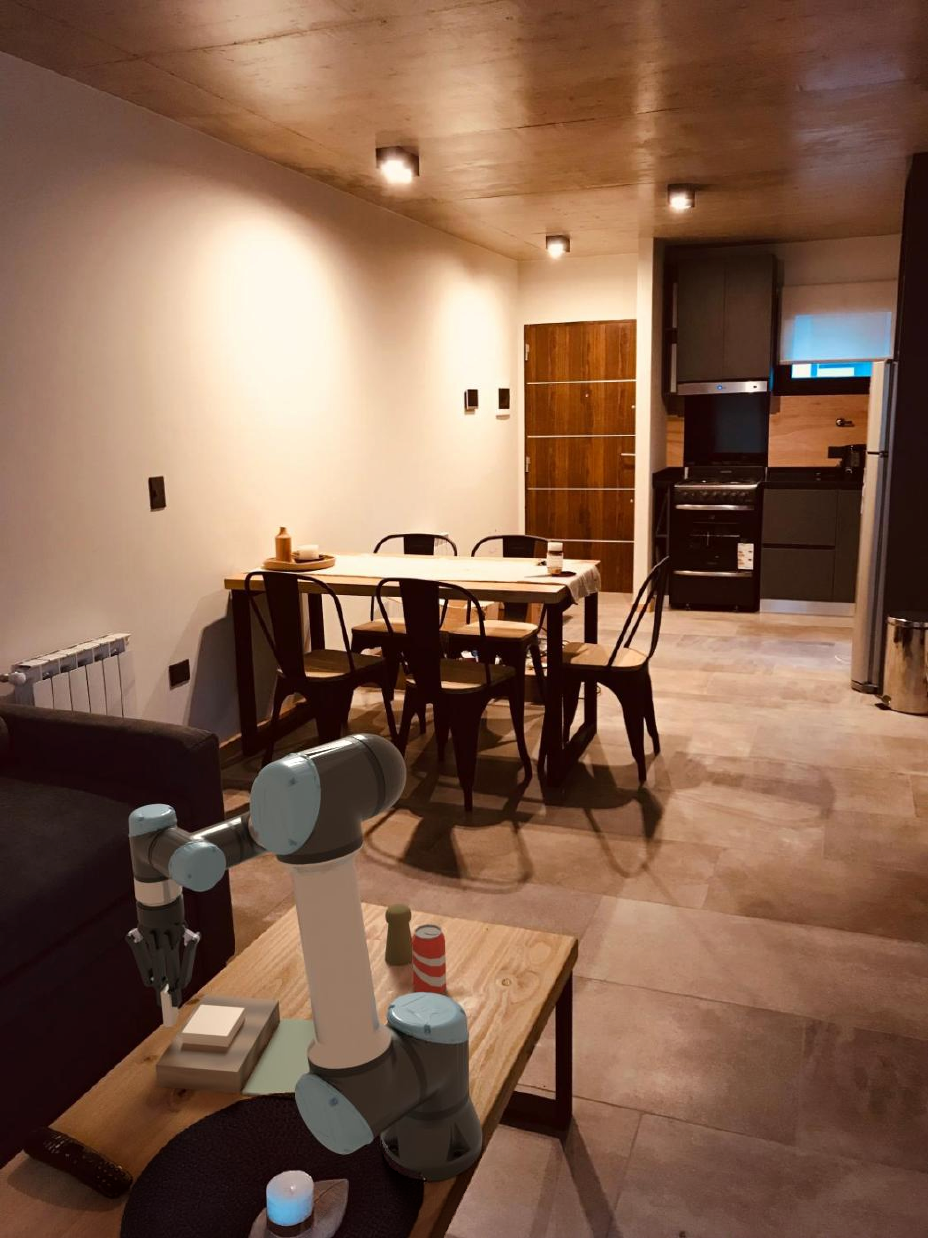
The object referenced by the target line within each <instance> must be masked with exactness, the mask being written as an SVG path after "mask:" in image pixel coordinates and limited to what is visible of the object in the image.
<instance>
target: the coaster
mask: <svg viewBox="0 0 928 1238" xmlns="http://www.w3.org/2000/svg"><path fill="white" fill-rule="evenodd" d="M244 1020H245V1008H238V1007H225V1006H212V1005H200V1007H199V1008H198V1010H197V1011H196V1013H195V1014H194V1015H193V1017H192V1018H191V1020H190V1021H189V1023H188V1024H187V1026H186V1027H185V1028H184V1030H183V1031H182V1041H183V1043H189V1044H201V1045H213V1046H225V1047H228V1046H229V1044H230V1043H231V1041H232V1039H233V1038H234V1036H235V1034H236V1033H237V1031H238V1029H239V1028H240V1026H241V1025H242V1023H243V1021H244Z"/></svg>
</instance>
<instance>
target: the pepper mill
mask: <svg viewBox="0 0 928 1238" xmlns="http://www.w3.org/2000/svg"><path fill="white" fill-rule="evenodd" d="M384 917H385V921H386V923H387V933H386V934H387V935H386V942H385V953H384V960H385V962H386V963H387V964H389V965H391V966H395V967H396V966H397V967H401V966H402V967H404V966H407V965H409V964H411V963H413V959H412V932H411V927H410V922H411V920H412V910H411V908H410V907H409V906H408V905H406V904H402V903H394V904H392V905H390V906H388V907H387V909H386V910H385V914H384Z"/></svg>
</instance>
